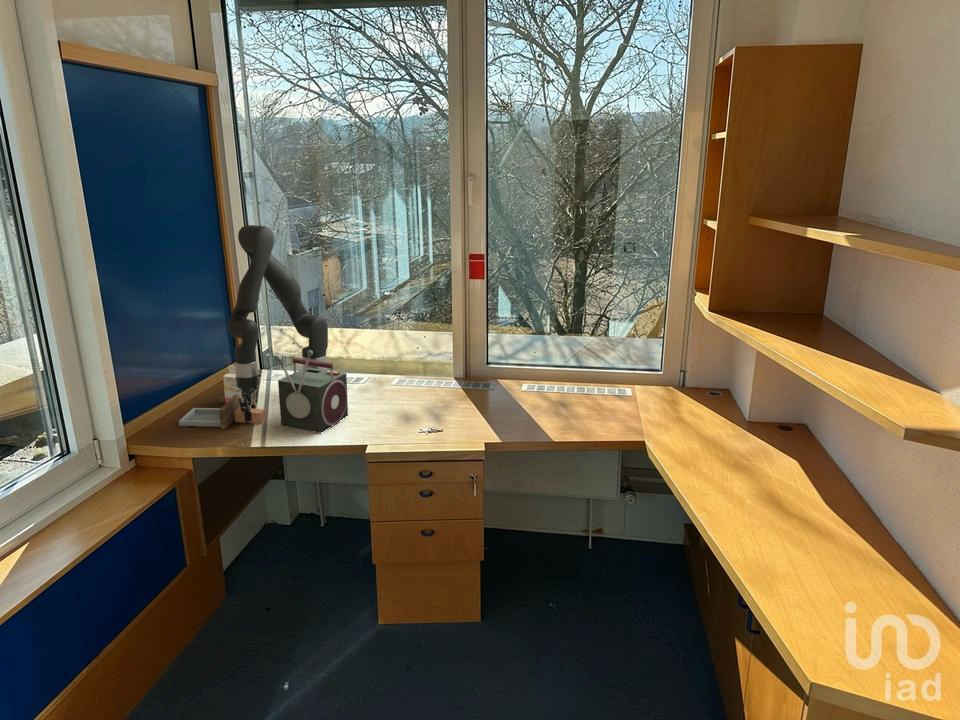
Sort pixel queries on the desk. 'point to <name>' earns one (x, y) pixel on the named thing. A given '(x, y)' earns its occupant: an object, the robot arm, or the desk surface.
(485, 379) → the desk surface
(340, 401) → the boombox
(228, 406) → the board
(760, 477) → the desk surface
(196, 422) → the tray
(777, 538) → the desk surface
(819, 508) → the desk surface
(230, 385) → the ink cartridge box
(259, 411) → the bar
